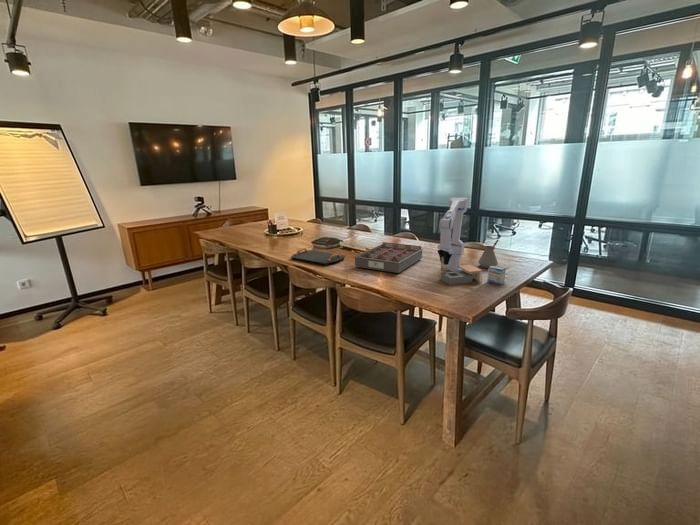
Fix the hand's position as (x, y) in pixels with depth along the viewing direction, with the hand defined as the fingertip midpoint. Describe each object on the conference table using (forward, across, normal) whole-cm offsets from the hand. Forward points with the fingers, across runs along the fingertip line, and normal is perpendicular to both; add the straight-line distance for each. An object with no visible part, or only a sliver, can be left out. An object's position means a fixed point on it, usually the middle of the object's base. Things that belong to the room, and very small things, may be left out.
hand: (444, 263), depth 199 cm
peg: (+4, 0, 0) cm, 4 cm away
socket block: (+9, +5, +5) cm, 12 cm away
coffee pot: (+10, -17, +42) cm, 46 cm away
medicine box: (+10, +14, +24) cm, 29 cm away
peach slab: (+9, +5, +13) cm, 17 cm away
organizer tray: (+10, -40, -18) cm, 45 cm away
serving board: (+10, -67, -63) cm, 92 cm away
